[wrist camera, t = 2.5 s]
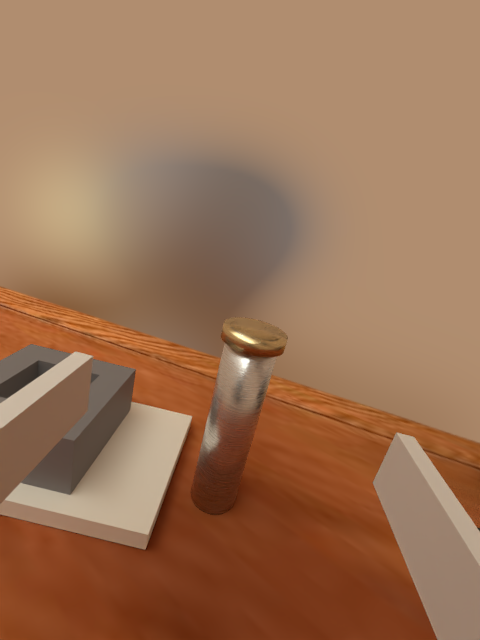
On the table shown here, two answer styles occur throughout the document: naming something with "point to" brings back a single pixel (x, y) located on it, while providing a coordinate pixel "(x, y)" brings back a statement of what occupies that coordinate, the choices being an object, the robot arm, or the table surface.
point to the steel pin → (235, 410)
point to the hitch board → (98, 456)
